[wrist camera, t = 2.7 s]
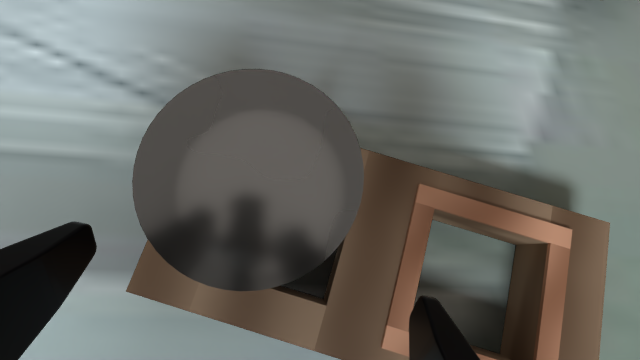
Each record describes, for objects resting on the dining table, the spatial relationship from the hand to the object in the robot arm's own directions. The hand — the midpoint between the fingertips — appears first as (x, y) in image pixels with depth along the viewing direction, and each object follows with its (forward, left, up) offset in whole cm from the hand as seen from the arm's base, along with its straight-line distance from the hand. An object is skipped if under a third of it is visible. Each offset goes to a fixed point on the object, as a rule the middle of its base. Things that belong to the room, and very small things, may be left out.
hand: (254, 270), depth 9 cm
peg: (+1, -1, -9) cm, 10 cm away
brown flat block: (-2, -5, -9) cm, 11 cm away
